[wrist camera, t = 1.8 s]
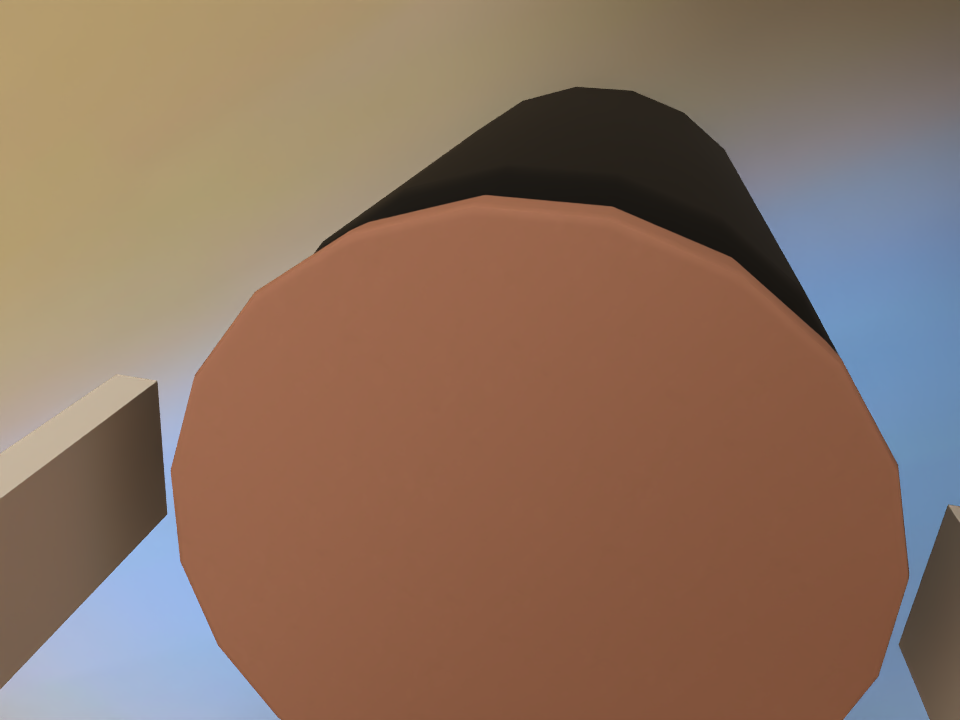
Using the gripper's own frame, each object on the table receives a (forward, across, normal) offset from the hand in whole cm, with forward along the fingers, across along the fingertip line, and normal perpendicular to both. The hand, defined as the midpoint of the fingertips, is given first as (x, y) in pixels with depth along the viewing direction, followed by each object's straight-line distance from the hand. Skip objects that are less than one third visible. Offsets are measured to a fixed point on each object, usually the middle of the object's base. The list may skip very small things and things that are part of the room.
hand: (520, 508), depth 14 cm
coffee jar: (+16, 0, 0) cm, 16 cm away
